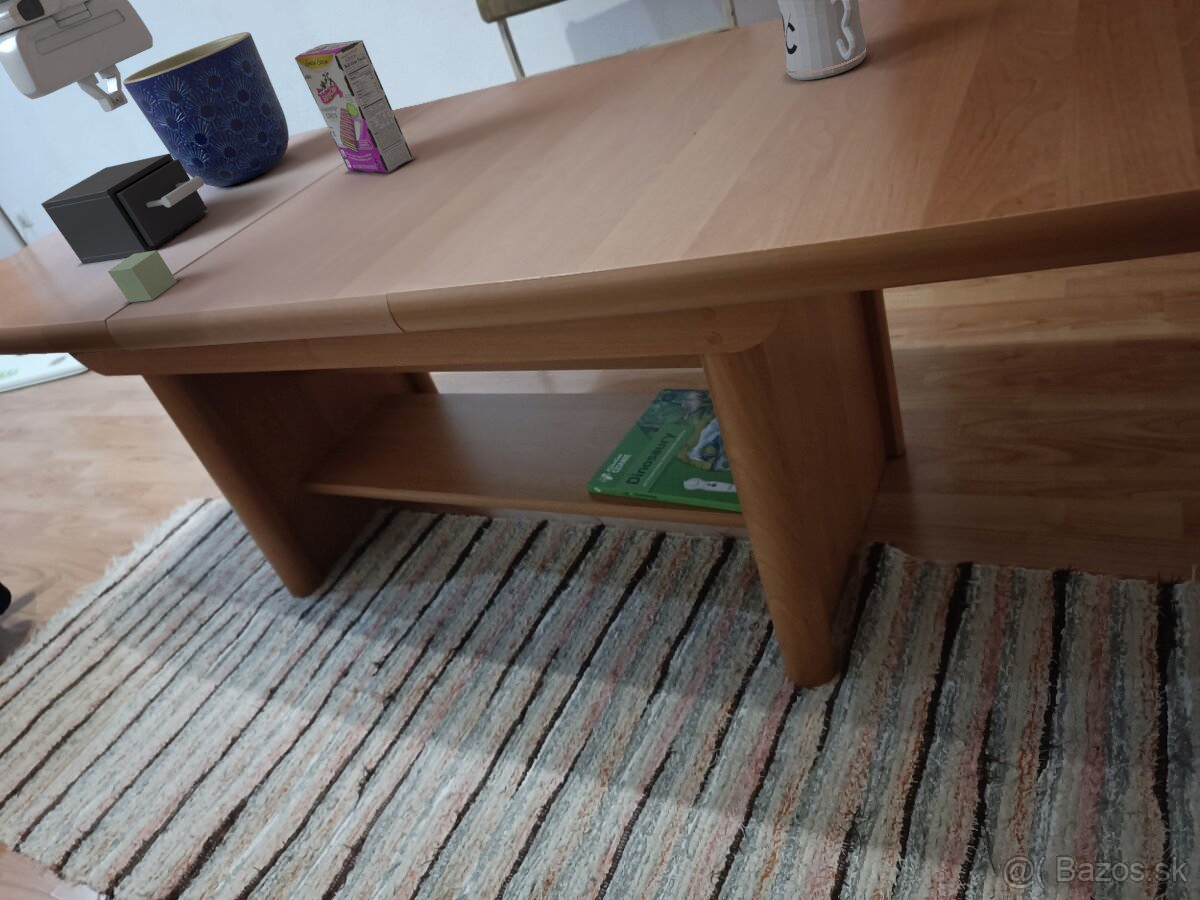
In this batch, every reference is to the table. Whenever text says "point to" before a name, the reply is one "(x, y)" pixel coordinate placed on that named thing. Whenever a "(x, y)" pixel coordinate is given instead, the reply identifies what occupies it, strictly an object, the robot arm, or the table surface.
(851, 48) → the mug
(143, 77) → the planter
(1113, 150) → the table surface
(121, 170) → the cabinet
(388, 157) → the candy bar box
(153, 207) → the drawer
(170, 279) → the block
